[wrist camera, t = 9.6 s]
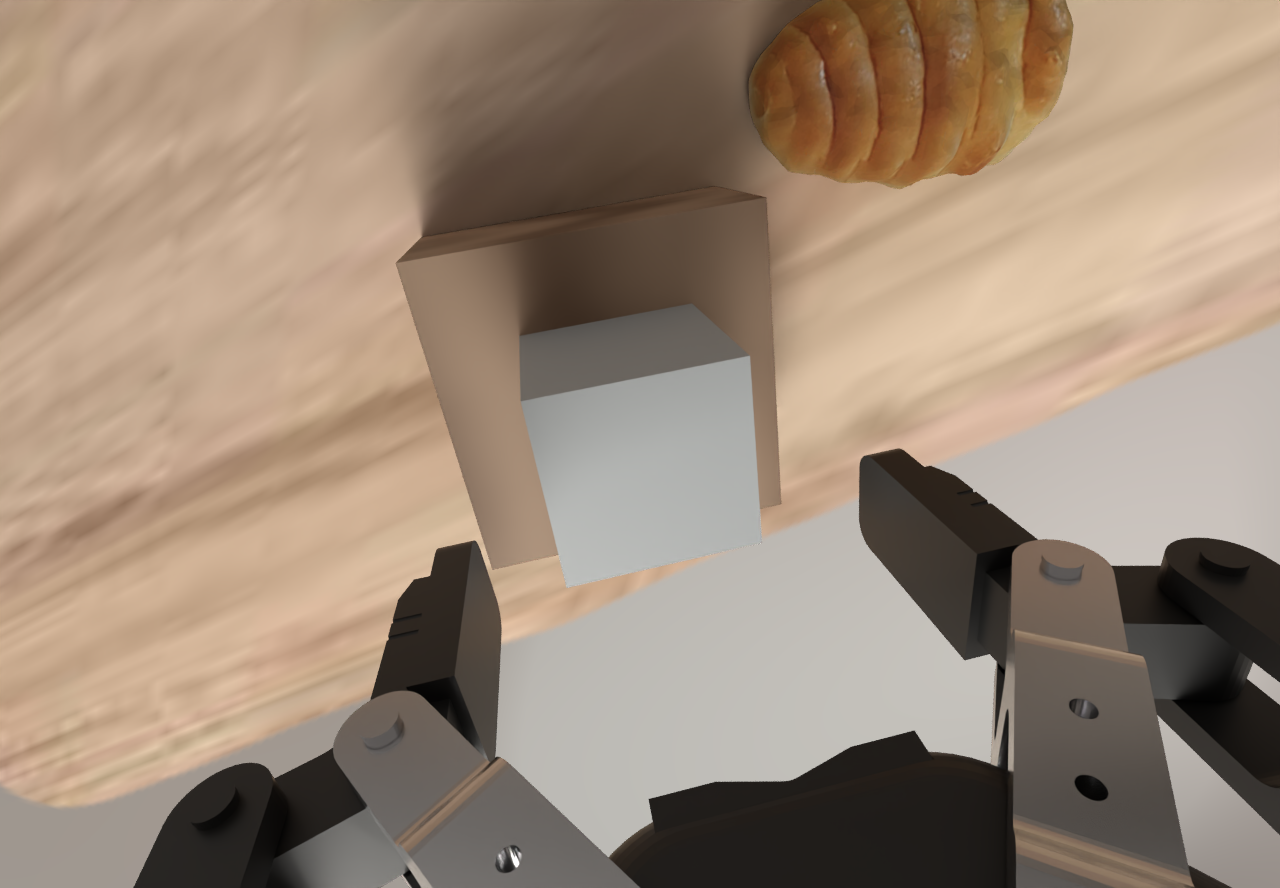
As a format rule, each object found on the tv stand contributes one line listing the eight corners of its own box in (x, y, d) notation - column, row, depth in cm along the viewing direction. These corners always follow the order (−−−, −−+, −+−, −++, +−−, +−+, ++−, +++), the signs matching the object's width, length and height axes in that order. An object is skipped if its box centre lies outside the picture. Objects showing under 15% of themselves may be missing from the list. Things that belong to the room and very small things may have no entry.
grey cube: (692, 303, 18) (750, 355, 14) (707, 455, 20) (761, 542, 16) (519, 335, 17) (520, 401, 13) (555, 487, 20) (566, 587, 15)
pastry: (753, 217, 22) (795, 229, 19) (727, -8, 19) (771, -41, 16) (995, 157, 23) (1078, 159, 20) (1007, -69, 20) (1106, -114, 17)
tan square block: (714, 186, 22) (766, 197, 17) (735, 442, 26) (781, 504, 22) (421, 237, 21) (395, 263, 16) (496, 494, 25) (492, 569, 21)
